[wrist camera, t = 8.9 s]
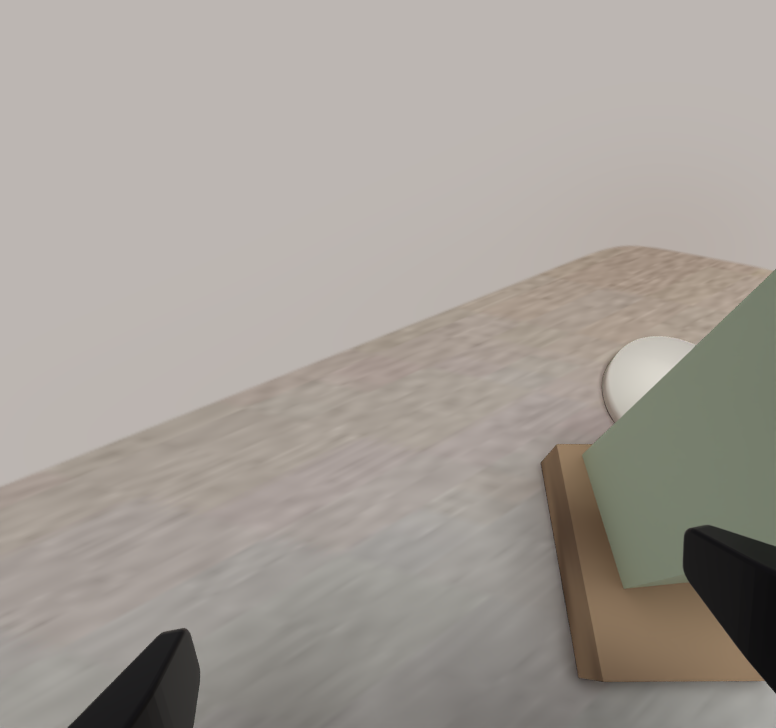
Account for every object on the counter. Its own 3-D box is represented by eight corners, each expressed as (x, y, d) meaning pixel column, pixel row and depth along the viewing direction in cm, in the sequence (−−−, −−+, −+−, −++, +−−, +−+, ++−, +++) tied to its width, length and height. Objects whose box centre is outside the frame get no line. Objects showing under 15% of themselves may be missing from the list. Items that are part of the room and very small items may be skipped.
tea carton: (757, 575, 19) (1255, 481, 8) (623, 588, 19) (956, 509, 8) (699, 445, 22) (1011, 246, 11) (581, 454, 21) (784, 260, 11)
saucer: (758, 462, 24) (772, 455, 23) (620, 462, 24) (629, 455, 23) (709, 346, 27) (720, 336, 27) (589, 345, 27) (596, 335, 26)
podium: (762, 676, 19) (810, 680, 17) (578, 677, 19) (603, 681, 17) (689, 462, 24) (720, 444, 22) (541, 462, 24) (556, 444, 22)
